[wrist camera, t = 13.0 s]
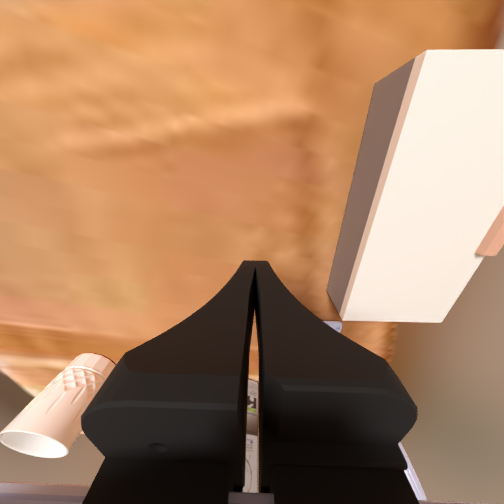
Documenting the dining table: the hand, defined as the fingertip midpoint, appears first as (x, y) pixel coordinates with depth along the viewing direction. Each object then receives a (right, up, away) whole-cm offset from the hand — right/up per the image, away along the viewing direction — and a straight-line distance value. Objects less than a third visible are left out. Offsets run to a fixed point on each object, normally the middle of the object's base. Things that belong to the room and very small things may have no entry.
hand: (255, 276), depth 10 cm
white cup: (-27, -18, +22) cm, 39 cm away
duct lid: (+14, +3, +5) cm, 15 cm away
